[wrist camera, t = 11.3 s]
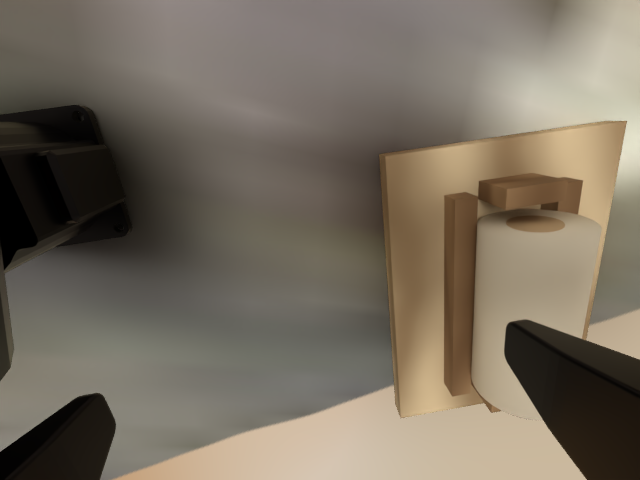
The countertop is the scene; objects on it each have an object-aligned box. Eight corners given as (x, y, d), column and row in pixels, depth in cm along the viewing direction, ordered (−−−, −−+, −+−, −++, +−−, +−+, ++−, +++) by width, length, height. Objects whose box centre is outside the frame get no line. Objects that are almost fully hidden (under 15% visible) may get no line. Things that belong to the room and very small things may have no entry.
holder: (395, 404, 24) (413, 450, 20) (379, 154, 18) (400, 161, 14) (564, 373, 24) (608, 413, 21) (605, 121, 18) (678, 120, 15)
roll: (529, 349, 22) (595, 412, 17) (456, 361, 22) (502, 428, 17) (546, 203, 18) (634, 231, 14) (459, 216, 18) (518, 249, 13)
